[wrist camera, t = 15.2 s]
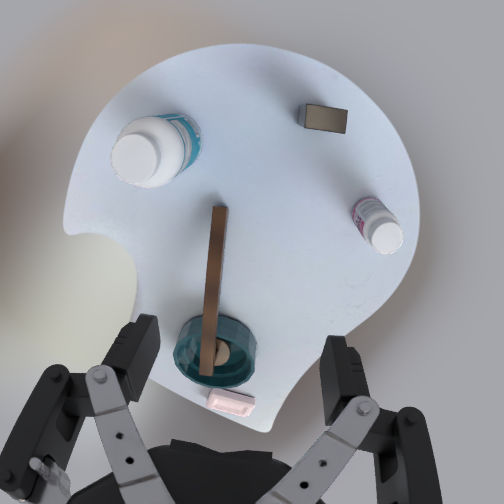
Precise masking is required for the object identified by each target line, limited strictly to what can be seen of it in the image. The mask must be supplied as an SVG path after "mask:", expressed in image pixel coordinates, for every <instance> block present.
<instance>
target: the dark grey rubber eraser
mask: <svg viewBox="0 0 504 504" xmlns="http://www.w3.org/2000/svg"><path fill="white" fill-rule="evenodd" d="M347 114H348V110H344V109H338V108H332V107H326V106H319V105H312V104H305V105H301V106H299V113H298V123H297V124H298V125H300V126H302V127H304V128H308V129H315V130H322V131H329V132H335V133H342V134H345V131H346V122H347Z"/></svg>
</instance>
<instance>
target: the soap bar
mask: <svg viewBox="0 0 504 504" xmlns="http://www.w3.org/2000/svg"><path fill="white" fill-rule="evenodd" d="M206 406H207V407H209V408H213V409H216V410H220V411H223V412H227V413H231V414H235V415H238V416H242V417H248V415H249V414H250V413H251V411H252V410H253V408H254V407H255V398H252V397H248V396H244V395H241V394H237V393H233V392H230V391H226V390H223V389H218V388H212V390H211V392H210V394H209V397H208V399H207V403H206Z"/></svg>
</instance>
